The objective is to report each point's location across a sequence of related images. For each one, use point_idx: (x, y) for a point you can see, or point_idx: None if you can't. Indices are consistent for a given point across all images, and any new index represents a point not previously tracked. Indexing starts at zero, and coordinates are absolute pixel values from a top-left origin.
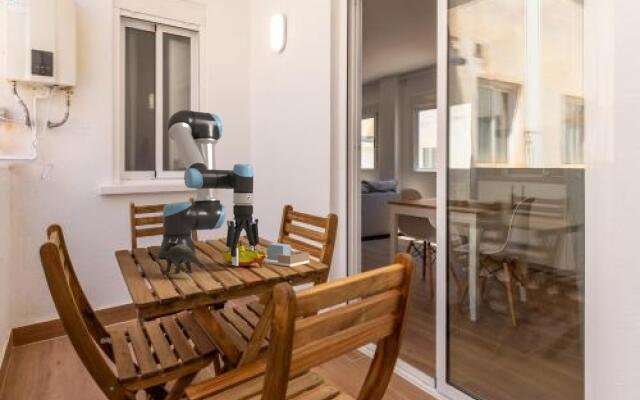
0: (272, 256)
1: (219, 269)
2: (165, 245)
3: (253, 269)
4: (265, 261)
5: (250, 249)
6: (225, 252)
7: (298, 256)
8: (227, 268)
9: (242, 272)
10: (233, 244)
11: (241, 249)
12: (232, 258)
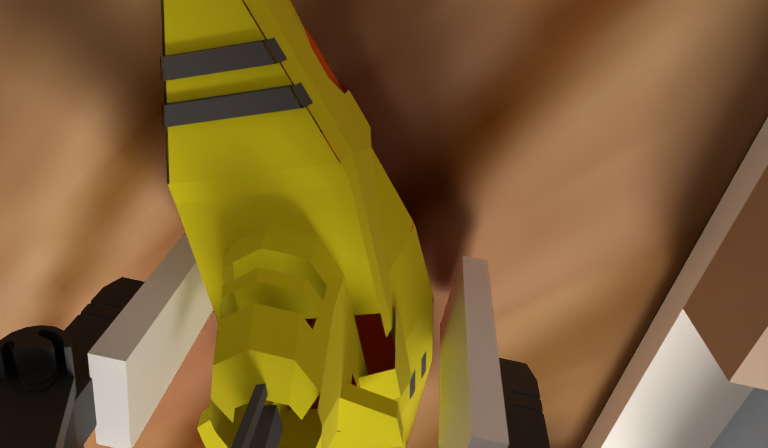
0: (750, 442)
1: (40, 139)
2: None
3: None
4: (635, 369)
5: (449, 437)
6: (178, 76)
7: None
8: (139, 184)
9: None
10: (55, 430)
11: (215, 438)
12: (176, 249)
